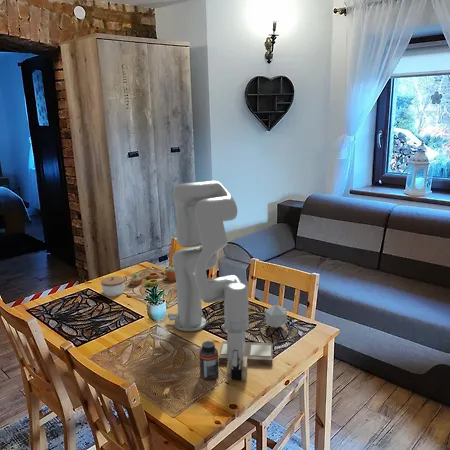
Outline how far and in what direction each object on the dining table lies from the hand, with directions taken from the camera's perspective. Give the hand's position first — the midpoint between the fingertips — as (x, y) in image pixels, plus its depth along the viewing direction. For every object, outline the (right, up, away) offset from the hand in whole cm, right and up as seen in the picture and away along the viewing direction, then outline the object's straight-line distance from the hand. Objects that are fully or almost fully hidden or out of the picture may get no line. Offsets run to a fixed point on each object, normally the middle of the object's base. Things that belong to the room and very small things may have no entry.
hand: (237, 373), depth 141 cm
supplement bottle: (-9, -1, 0) cm, 9 cm away
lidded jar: (-56, +14, +66) cm, 88 cm away
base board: (+3, +2, +12) cm, 12 cm away
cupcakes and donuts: (-38, +18, +80) cm, 90 cm away
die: (+16, +7, +31) cm, 35 cm away
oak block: (0, -1, 0) cm, 1 cm away
